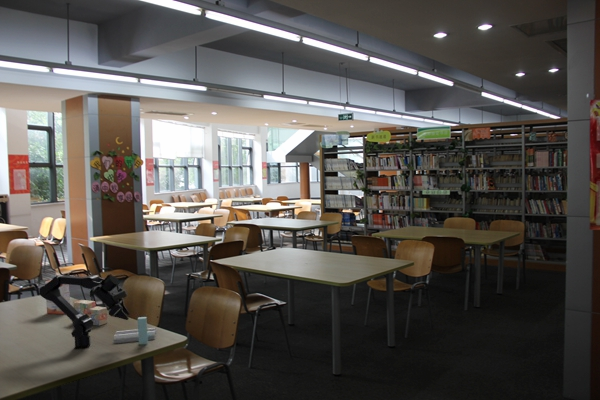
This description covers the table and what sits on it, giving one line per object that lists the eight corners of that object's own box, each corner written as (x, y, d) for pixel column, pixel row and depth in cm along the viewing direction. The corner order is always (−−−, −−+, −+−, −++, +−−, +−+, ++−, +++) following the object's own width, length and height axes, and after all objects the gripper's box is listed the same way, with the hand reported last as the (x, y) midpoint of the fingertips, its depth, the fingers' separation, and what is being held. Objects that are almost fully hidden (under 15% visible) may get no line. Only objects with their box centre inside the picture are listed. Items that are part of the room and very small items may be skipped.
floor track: (113, 343, 250) (113, 337, 250) (117, 336, 262) (116, 330, 262) (154, 339, 254) (153, 332, 254) (156, 332, 266) (155, 326, 266)
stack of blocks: (107, 323, 289) (106, 302, 288) (99, 326, 283) (97, 305, 282) (83, 319, 299) (82, 299, 298) (74, 322, 293) (72, 301, 292)
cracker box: (46, 313, 315) (44, 281, 314) (53, 311, 321) (51, 279, 320) (64, 314, 311) (62, 282, 310) (71, 312, 317) (69, 279, 316)
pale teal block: (139, 344, 247) (137, 319, 247) (139, 342, 250) (138, 317, 250) (148, 343, 248) (147, 318, 248) (149, 341, 251) (148, 316, 251)
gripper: (115, 288, 238) (139, 310, 241) (118, 280, 255) (140, 300, 259) (98, 305, 236) (122, 326, 239) (102, 296, 254) (125, 316, 257)
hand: (128, 316), depth 249 cm, fingers open, 9 cm apart
